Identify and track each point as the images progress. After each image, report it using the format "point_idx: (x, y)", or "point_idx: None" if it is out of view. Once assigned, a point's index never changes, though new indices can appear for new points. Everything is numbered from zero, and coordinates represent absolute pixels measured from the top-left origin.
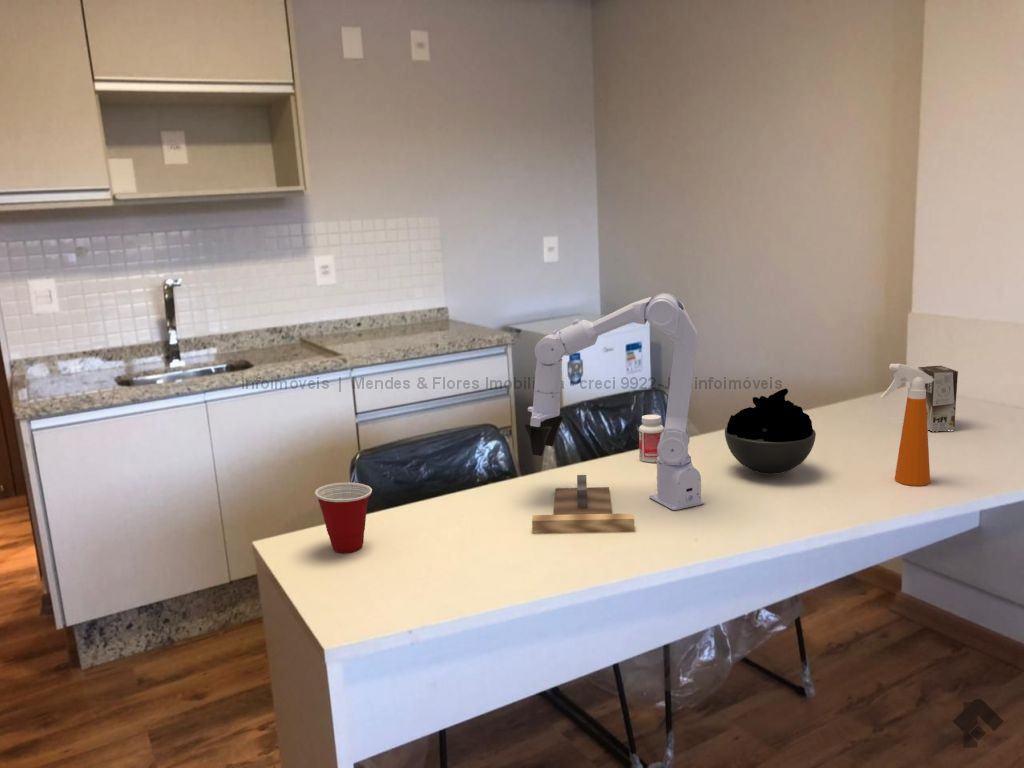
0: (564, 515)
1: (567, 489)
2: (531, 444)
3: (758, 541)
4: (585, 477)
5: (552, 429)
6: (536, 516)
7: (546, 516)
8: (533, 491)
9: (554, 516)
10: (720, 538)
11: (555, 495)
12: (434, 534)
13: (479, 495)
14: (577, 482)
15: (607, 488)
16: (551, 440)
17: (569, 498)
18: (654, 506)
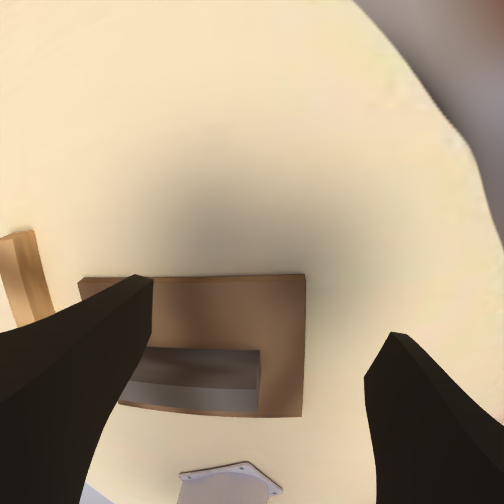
0: (30, 316)
1: (289, 320)
2: (78, 306)
3: (105, 492)
4: (227, 409)
5: (396, 473)
6: (9, 249)
7: (14, 274)
8: (323, 192)
9: (19, 293)
10: (98, 475)
11: (227, 284)
12: (15, 22)
13: (278, 6)
14: (170, 386)
15: (289, 414)
16: (375, 403)
17: (200, 327)
18: (200, 460)
